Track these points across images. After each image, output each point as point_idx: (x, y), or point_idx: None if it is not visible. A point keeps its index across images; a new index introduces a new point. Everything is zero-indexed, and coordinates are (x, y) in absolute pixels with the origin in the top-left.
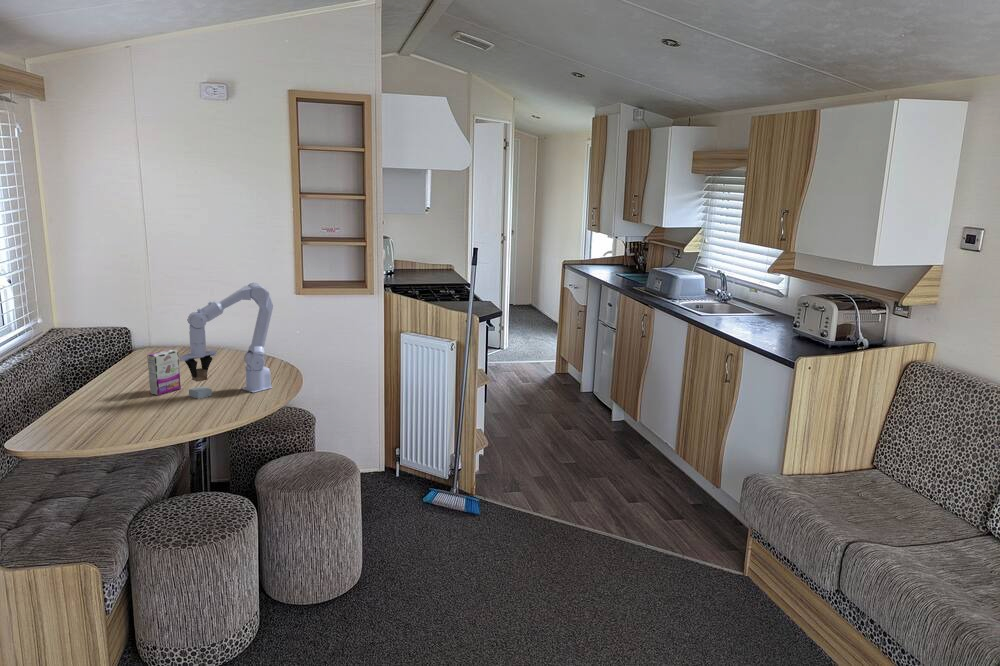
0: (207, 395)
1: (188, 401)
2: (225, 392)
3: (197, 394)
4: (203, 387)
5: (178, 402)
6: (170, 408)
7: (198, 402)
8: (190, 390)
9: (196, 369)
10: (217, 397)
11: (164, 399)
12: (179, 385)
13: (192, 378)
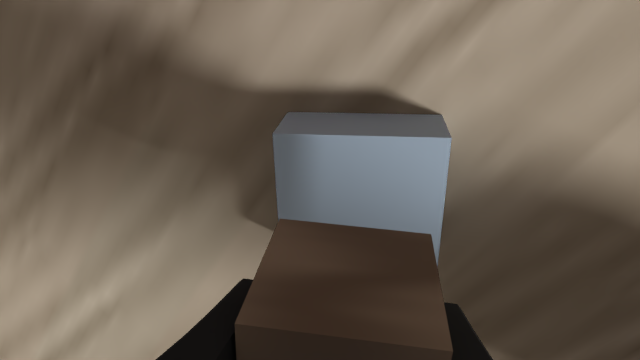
0: None
1: (204, 227)
2: (573, 266)
3: None
4: (431, 183)
5: (135, 189)
6: (37, 257)
7: None
8: (275, 161)
9: (322, 357)
10: None
11: (75, 19)
12: None
13: (274, 237)
